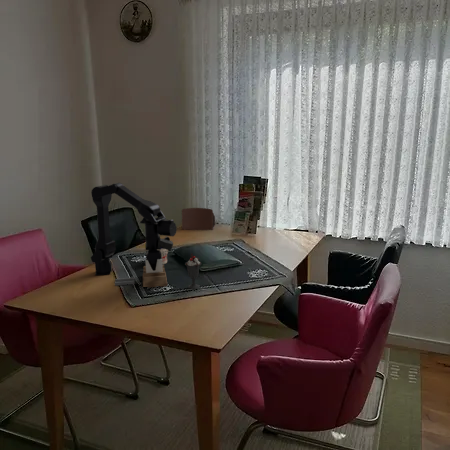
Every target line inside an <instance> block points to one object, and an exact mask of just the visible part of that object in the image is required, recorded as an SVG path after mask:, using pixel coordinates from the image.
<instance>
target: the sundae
mask: <svg viewBox="0 0 450 450" xmlns="http://www.w3.org/2000/svg"><path fill="white" fill-rule="evenodd" d="M184 265H185V266H186V269H187V275H188V277H189V279H191V284H189V285H187V288H188V289H190V290H196V289H200V284H196V279H197V278H198V277H199V272H200V266H202V262H201V261H200V258H199V257H197V256H195V255H193V254H190V258H189V260H188V261H186V262H184Z"/></svg>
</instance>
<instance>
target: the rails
mask: <svg viewBox="0 0 450 450" xmlns="http://www.w3.org/2000/svg"><path fill="white" fill-rule="evenodd" d="M135 281H136V280H135V277H124V278H123V277H122V278H115V281H114V286H127V284H128V285H135Z"/></svg>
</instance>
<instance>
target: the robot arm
mask: <svg viewBox="0 0 450 450" xmlns="http://www.w3.org/2000/svg"><path fill="white" fill-rule="evenodd" d="M113 194H116V196H118V197H120V199H123V200H124V201H126V202H127V203H128V204H129V205H131V206H132V207H134V208H135V209H136V210H137V212H138V214H140V216H141V217H142V219H141V221H139V223H140V224H142V225H144V234H145V246H144V247H145V250H146V251H145V261H146V260H148V262H149V264H150V266H151V268H152V270H153V271H155V270H156V264H157V260H158V259H162V257H161V252H160V250H161V248H163V249H166V250H168V252H171V251H172V250H173V247H174V242H173V241H172V240H171V239H170V237H174V236H176V233H177V229H178V228H177V227H178V226H177V225H176V222H174V219H172V218H171V219H167V217H166V216H165V214H164V213H163V211H162V210H161V208H160V207H161V206H159V204H157V203H155V202H153V201H151V200H147V199H144V198H142V197H141V196H139V195H138V194H136V193H135V192H134V191H132V190H131V189H129V188H127V187H126V186H125V185H124V184H123V183H121V182H115V183H113V184H110V185H107V184H103V185H98V186H95V187H93V188H92V189H91V199H92V202H93V203H94V204H95V206H96V217H97V218H96V219H97V230H98V231H97V232H98V233H97V235H98V239H97V241H96V243H95V249H94V253H93V254H92V255H91V256H90V259H91V262H92V263H94V265H95V267H94V268H95V276H104V275H111V272H112V271H113V266H112V264H113V263H112V261H111V259H112V258H113V256H114V254H115V253H116V250H117V248H116V241H115V240H112V238H111V230H110V229H111V228H110V226H111V225H110V214H109V213H110V209H109V205H110V203H111V201H112V197H113V196H112V195H113ZM161 236H165V237H164V238H161ZM157 249H158V250H157Z"/></svg>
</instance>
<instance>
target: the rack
mask: <svg viewBox="0 0 450 450" xmlns="http://www.w3.org/2000/svg"><path fill="white" fill-rule="evenodd" d="M142 268H143V273H142V288H143V287H148V288H157V287H156V286H160V287H168V285H169V284H168V280H167V273H166V270H165V269H166V267H165V264H163V272H156V273H146V265H144V266H143V267H142Z"/></svg>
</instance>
